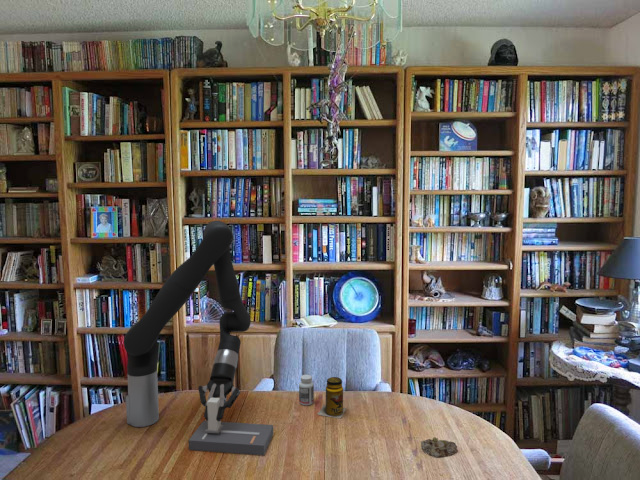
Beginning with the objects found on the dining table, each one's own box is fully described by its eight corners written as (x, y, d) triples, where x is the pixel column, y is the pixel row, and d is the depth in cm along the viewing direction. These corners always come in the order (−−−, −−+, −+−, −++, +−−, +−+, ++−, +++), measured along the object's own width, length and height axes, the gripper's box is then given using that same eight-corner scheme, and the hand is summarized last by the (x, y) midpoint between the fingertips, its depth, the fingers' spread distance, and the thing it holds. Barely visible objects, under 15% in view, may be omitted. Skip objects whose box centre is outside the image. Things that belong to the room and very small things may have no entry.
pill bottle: (307, 397, 173) (307, 372, 172) (316, 402, 169) (316, 377, 168) (296, 402, 170) (295, 376, 168) (305, 407, 165) (304, 381, 164)
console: (188, 449, 138) (188, 439, 138) (203, 429, 150) (203, 420, 150) (264, 455, 136) (263, 445, 135) (273, 434, 147) (273, 424, 147)
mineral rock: (423, 451, 134) (419, 430, 141) (421, 462, 135) (418, 441, 143) (461, 454, 133) (455, 432, 140) (459, 465, 135) (453, 443, 142)
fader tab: (205, 432, 141) (205, 402, 140) (210, 426, 145) (209, 396, 144) (218, 433, 141) (217, 403, 140) (222, 426, 145) (222, 397, 144)
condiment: (341, 418, 157) (341, 384, 156) (317, 415, 160) (317, 381, 158) (346, 409, 164) (346, 376, 163) (323, 405, 167) (323, 373, 165)
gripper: (200, 360, 150) (186, 414, 139) (243, 362, 148) (231, 417, 137) (207, 370, 156) (194, 422, 145) (248, 372, 154) (237, 425, 143)
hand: (212, 419), depth 141 cm, fingers closed on fader tab, 3 cm apart
